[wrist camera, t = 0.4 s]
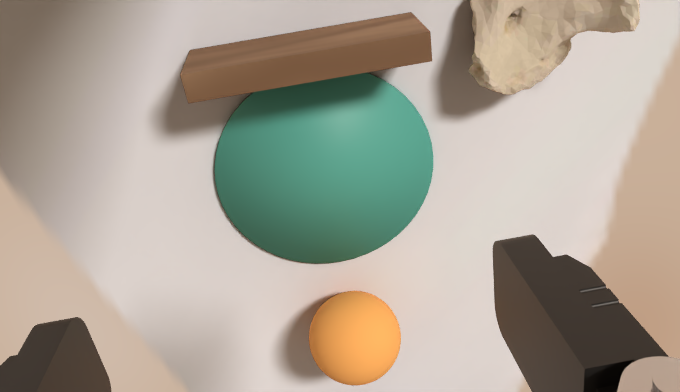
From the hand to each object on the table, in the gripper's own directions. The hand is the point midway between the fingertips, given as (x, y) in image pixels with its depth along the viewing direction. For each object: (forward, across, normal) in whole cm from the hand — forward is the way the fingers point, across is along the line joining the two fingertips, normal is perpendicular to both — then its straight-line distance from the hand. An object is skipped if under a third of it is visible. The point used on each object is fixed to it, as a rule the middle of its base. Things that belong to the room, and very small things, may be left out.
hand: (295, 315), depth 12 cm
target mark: (+18, -1, +5) cm, 19 cm away
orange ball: (+16, -1, +14) cm, 21 cm away
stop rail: (+18, -1, -1) cm, 18 cm away
